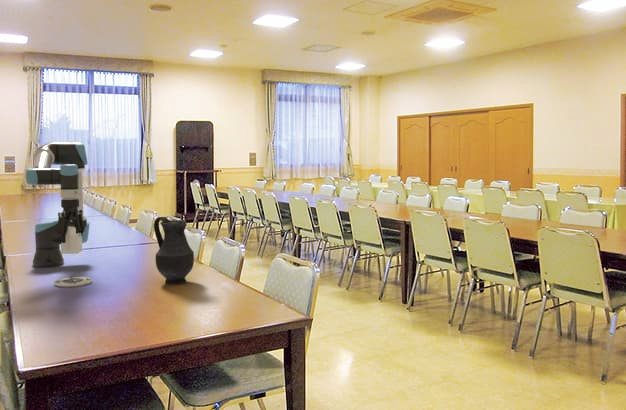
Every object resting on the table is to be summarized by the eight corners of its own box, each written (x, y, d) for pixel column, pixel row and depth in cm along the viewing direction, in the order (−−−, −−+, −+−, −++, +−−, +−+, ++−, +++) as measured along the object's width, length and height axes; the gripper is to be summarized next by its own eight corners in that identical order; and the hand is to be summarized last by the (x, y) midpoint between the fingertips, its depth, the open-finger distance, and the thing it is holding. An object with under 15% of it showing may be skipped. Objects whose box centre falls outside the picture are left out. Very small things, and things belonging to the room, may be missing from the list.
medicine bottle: (66, 251, 267) (65, 225, 266) (82, 251, 268) (81, 225, 266) (61, 253, 260) (60, 227, 259) (77, 253, 260) (76, 227, 259)
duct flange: (46, 286, 259) (45, 282, 259) (69, 278, 275) (69, 275, 275) (76, 288, 255) (76, 284, 255) (99, 280, 271) (99, 277, 271)
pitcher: (175, 288, 256) (173, 220, 253) (142, 282, 267) (140, 217, 264) (202, 281, 271) (201, 217, 268) (170, 275, 282) (168, 214, 279)
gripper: (61, 200, 250) (63, 252, 252) (92, 197, 271) (93, 245, 273) (46, 200, 252) (48, 251, 254) (78, 196, 273) (79, 244, 275)
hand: (71, 248), depth 264 cm, fingers closed on medicine bottle, 9 cm apart
